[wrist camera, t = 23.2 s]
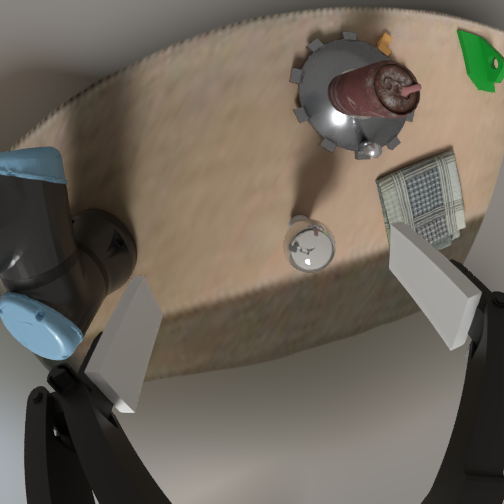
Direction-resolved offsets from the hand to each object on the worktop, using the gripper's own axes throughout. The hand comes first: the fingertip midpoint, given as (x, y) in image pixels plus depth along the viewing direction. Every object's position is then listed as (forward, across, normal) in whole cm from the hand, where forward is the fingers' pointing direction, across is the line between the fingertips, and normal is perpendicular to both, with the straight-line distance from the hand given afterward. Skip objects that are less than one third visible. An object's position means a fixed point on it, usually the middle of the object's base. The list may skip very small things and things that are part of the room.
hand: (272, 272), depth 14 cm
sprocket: (+27, +17, +9) cm, 33 cm away
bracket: (+29, +48, +17) cm, 58 cm away
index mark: (+29, +25, +18) cm, 42 cm away
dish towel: (+29, +29, -12) cm, 43 cm away
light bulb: (+29, +5, -10) cm, 31 cm away
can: (+26, +15, +9) cm, 32 cm away
